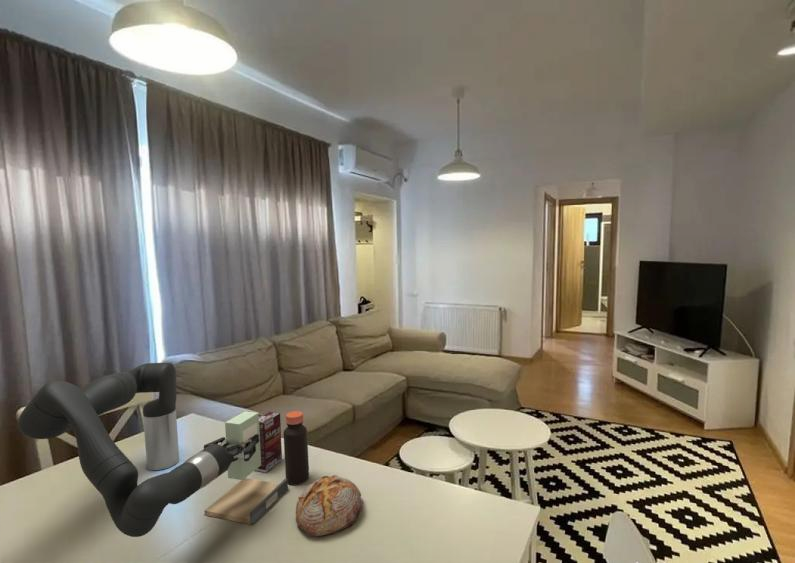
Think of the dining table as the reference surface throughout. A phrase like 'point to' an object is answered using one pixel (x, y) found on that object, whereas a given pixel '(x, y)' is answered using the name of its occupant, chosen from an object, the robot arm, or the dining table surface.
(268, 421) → the supplement box
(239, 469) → the carton
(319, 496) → the bread
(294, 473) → the bottle
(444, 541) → the dining table surface
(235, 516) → the tan flat piece
